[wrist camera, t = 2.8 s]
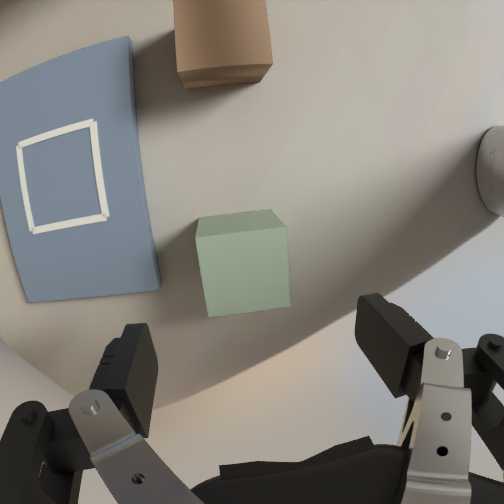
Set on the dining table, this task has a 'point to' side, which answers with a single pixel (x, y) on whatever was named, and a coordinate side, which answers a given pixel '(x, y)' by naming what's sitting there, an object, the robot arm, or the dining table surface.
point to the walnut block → (221, 42)
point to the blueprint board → (76, 177)
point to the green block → (243, 262)
